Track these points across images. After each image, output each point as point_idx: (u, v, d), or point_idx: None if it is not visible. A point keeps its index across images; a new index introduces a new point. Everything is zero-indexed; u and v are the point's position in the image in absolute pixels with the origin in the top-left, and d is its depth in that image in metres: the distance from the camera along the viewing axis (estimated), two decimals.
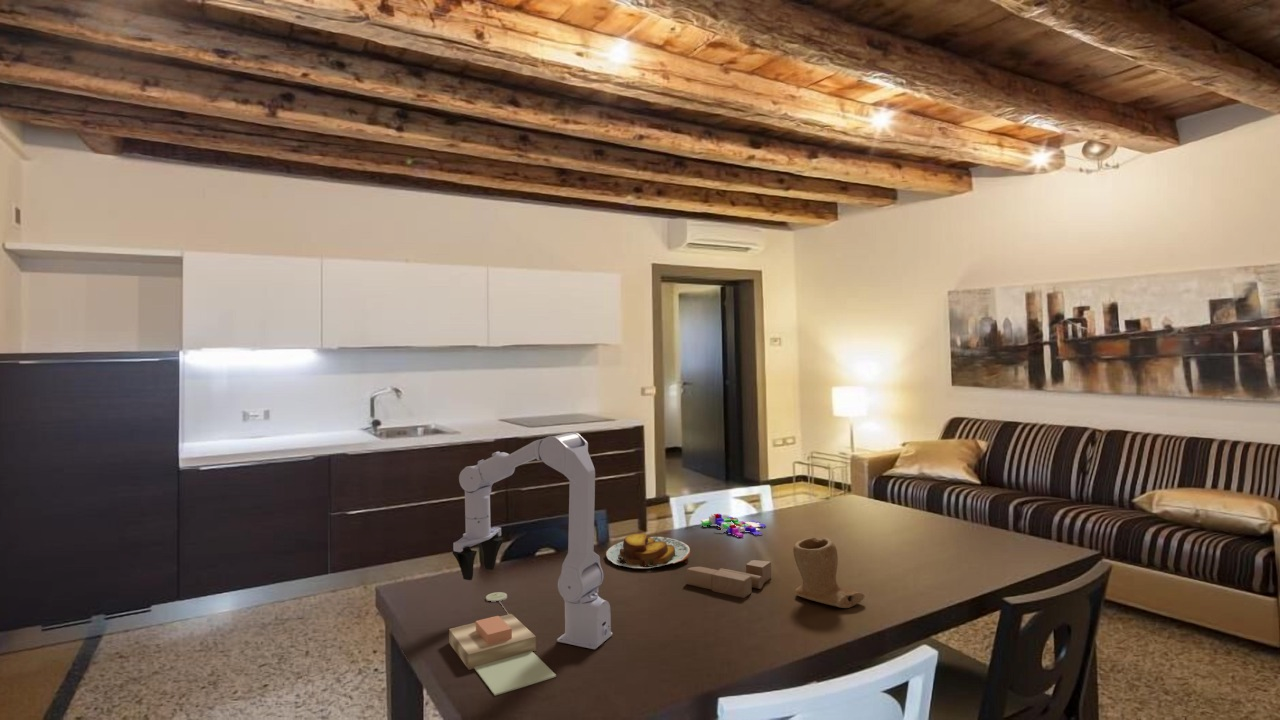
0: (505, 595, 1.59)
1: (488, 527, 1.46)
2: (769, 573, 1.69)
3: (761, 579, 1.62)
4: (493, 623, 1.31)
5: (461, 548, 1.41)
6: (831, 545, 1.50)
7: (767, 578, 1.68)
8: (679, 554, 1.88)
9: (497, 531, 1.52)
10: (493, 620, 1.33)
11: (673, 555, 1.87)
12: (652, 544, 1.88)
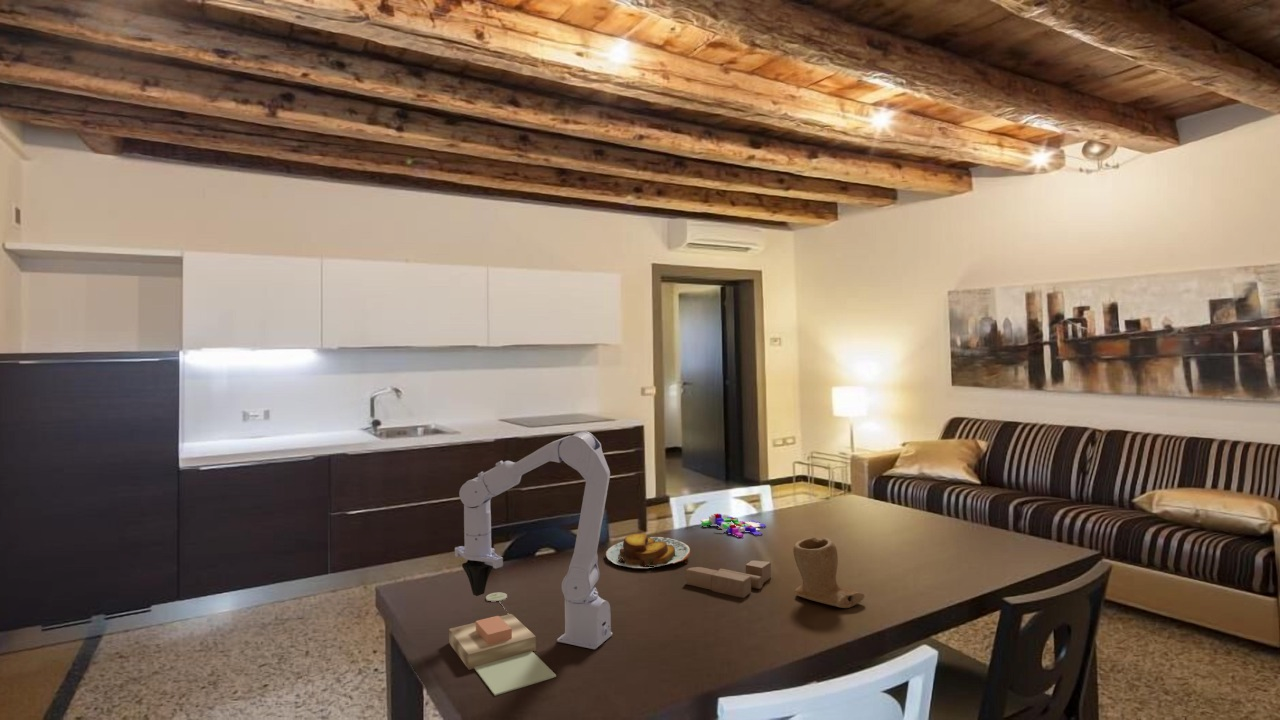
0: (505, 595, 1.59)
1: (468, 547, 1.36)
2: (768, 574, 1.69)
3: (760, 579, 1.62)
4: (493, 623, 1.31)
5: (455, 553, 1.42)
6: (831, 545, 1.50)
7: (767, 578, 1.68)
8: (679, 554, 1.88)
9: (489, 560, 1.34)
10: (493, 620, 1.33)
11: (673, 555, 1.87)
12: (652, 544, 1.88)
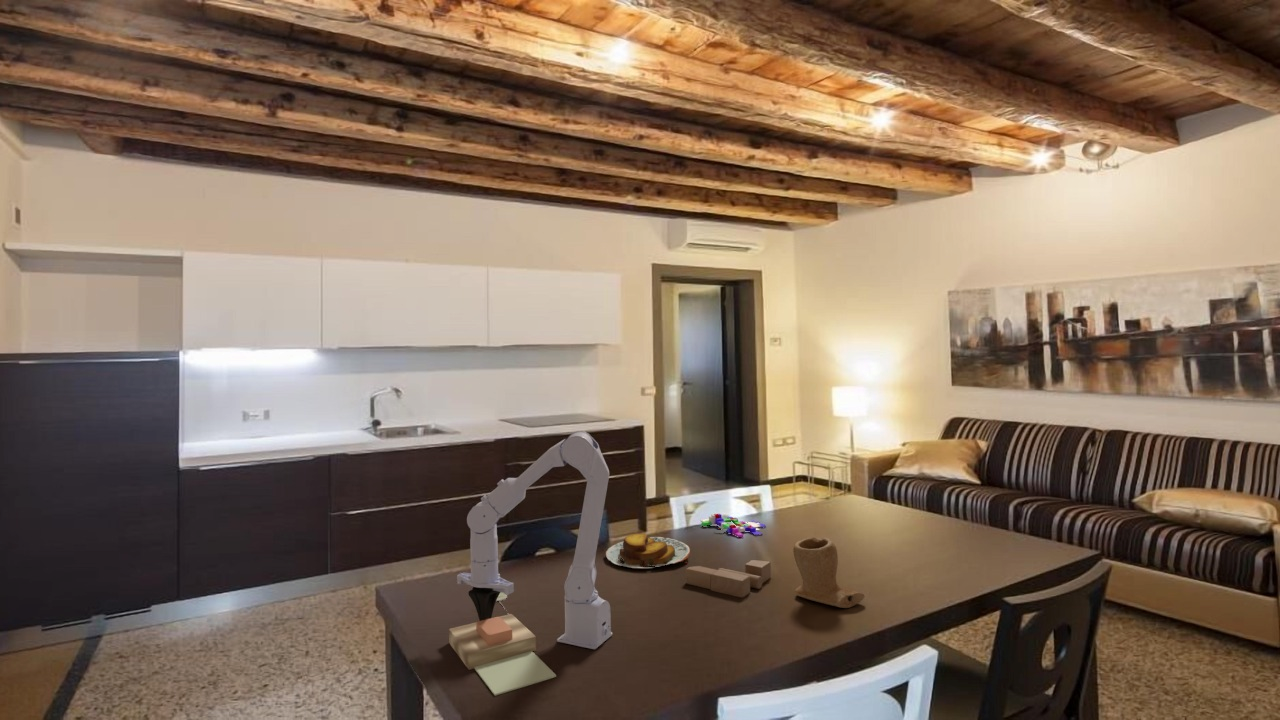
0: (505, 595, 1.59)
1: (476, 574, 1.32)
2: (768, 573, 1.69)
3: (760, 579, 1.62)
4: (493, 624, 1.31)
5: (458, 580, 1.37)
6: (831, 545, 1.50)
7: (766, 578, 1.68)
8: (679, 554, 1.88)
9: (500, 587, 1.31)
10: (493, 621, 1.32)
11: (673, 555, 1.87)
12: (652, 544, 1.88)
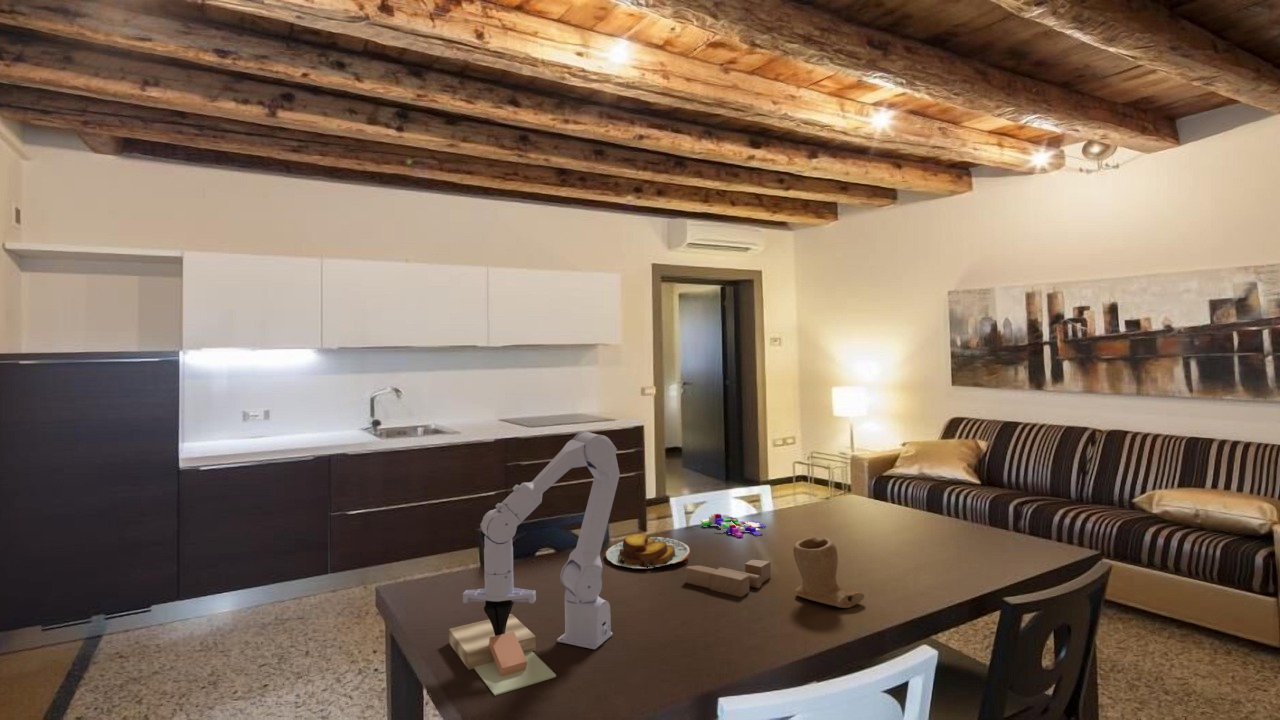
0: None
1: (497, 587, 1.24)
2: (768, 573, 1.69)
3: (759, 578, 1.63)
4: (508, 647, 1.23)
5: (465, 599, 1.27)
6: (831, 545, 1.50)
7: (766, 578, 1.68)
8: (679, 554, 1.88)
9: (524, 596, 1.26)
10: (508, 640, 1.24)
11: (673, 555, 1.87)
12: (652, 544, 1.88)
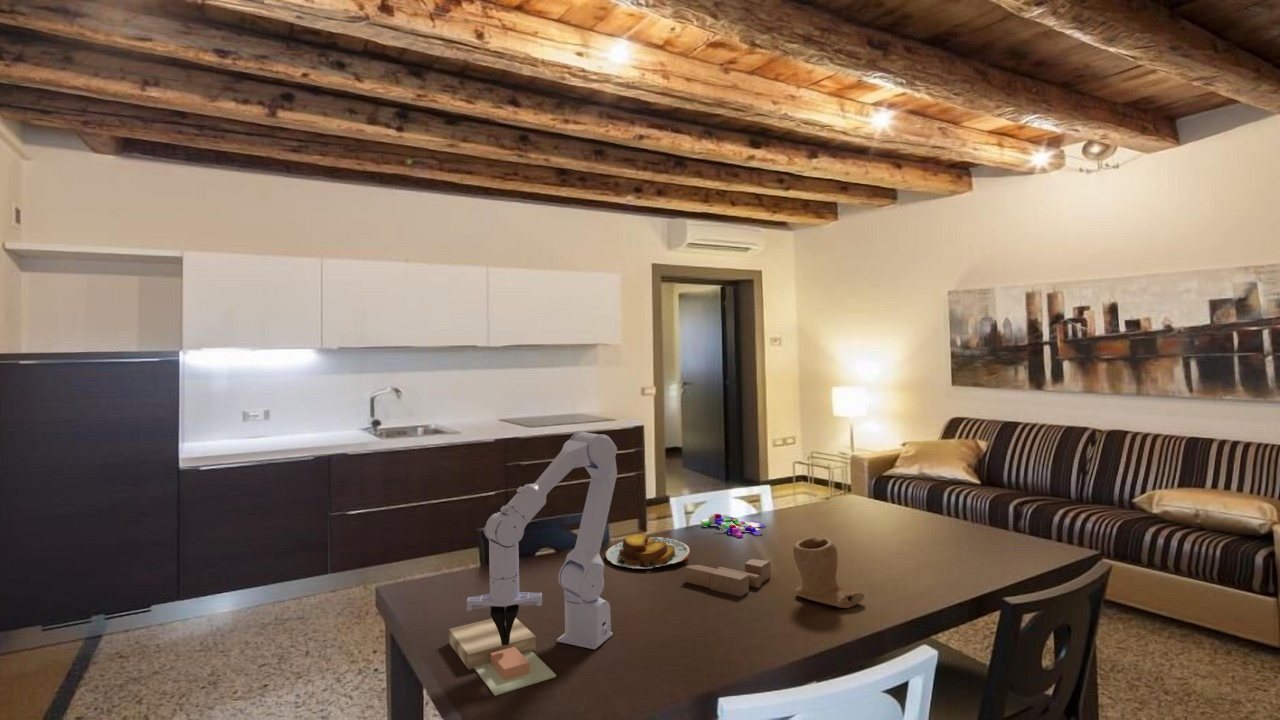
0: None
1: (505, 591, 1.22)
2: (768, 572, 1.69)
3: (759, 578, 1.63)
4: (509, 656, 1.22)
5: (469, 606, 1.23)
6: (831, 545, 1.50)
7: (766, 577, 1.68)
8: (679, 554, 1.88)
9: (532, 599, 1.24)
10: (509, 652, 1.24)
11: (673, 555, 1.86)
12: (652, 544, 1.88)
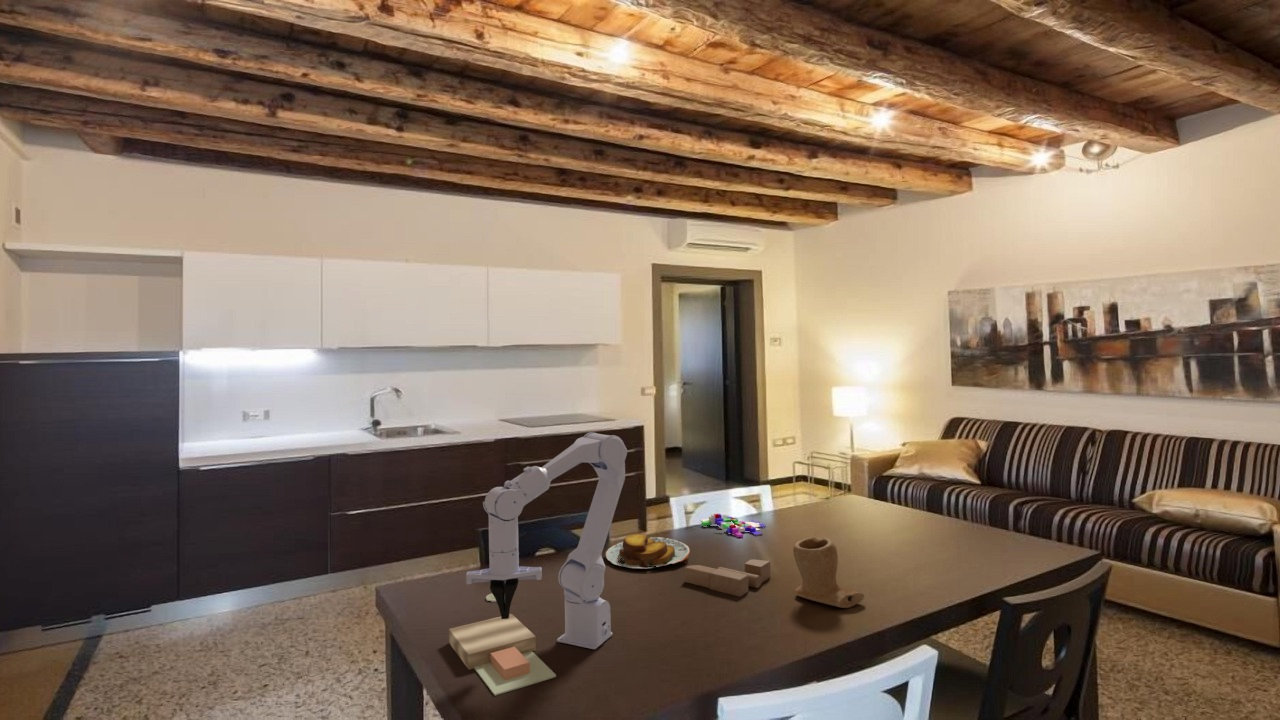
0: None
1: (504, 565, 1.22)
2: (768, 573, 1.69)
3: (758, 578, 1.63)
4: (509, 656, 1.22)
5: (468, 580, 1.23)
6: (831, 545, 1.50)
7: (766, 577, 1.68)
8: (679, 554, 1.87)
9: (531, 573, 1.24)
10: (509, 652, 1.24)
11: (673, 555, 1.86)
12: (652, 544, 1.88)
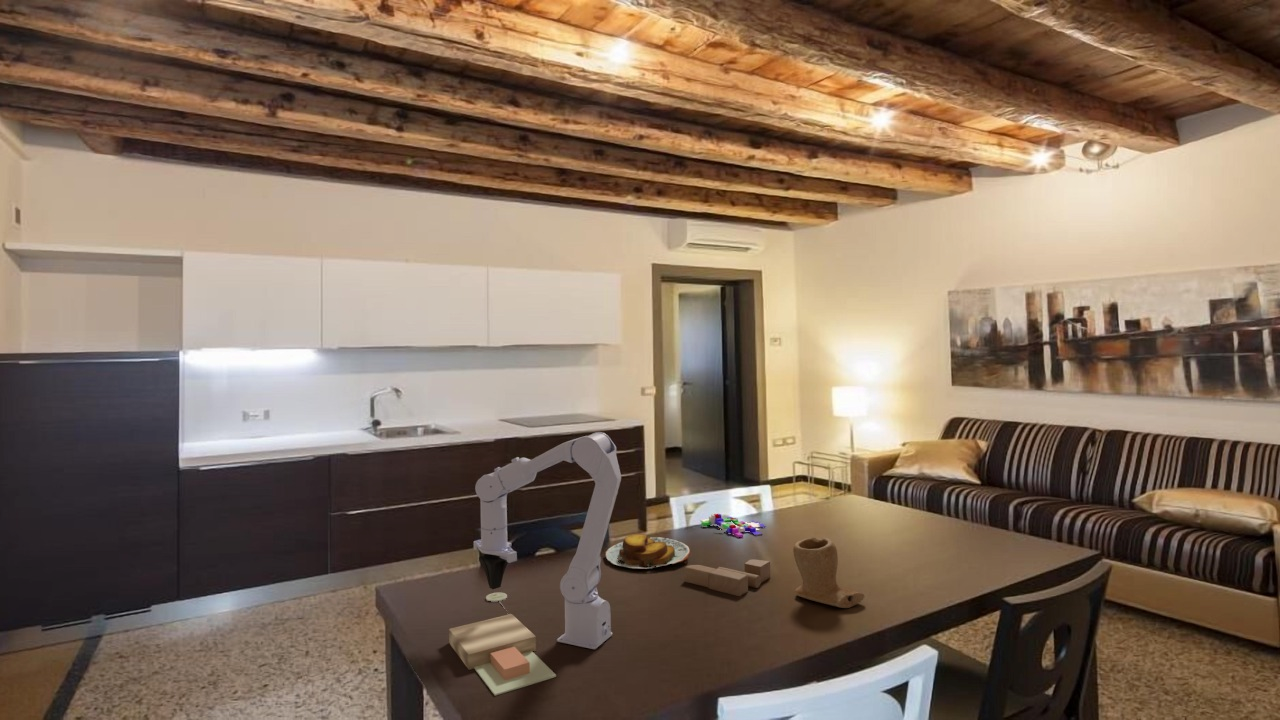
0: (505, 595, 1.59)
1: (484, 540, 1.38)
2: (768, 573, 1.69)
3: (758, 578, 1.63)
4: (509, 656, 1.22)
5: (474, 546, 1.44)
6: (831, 545, 1.50)
7: (766, 577, 1.68)
8: (679, 555, 1.87)
9: (503, 554, 1.35)
10: (509, 652, 1.24)
11: (673, 556, 1.86)
12: (652, 544, 1.88)
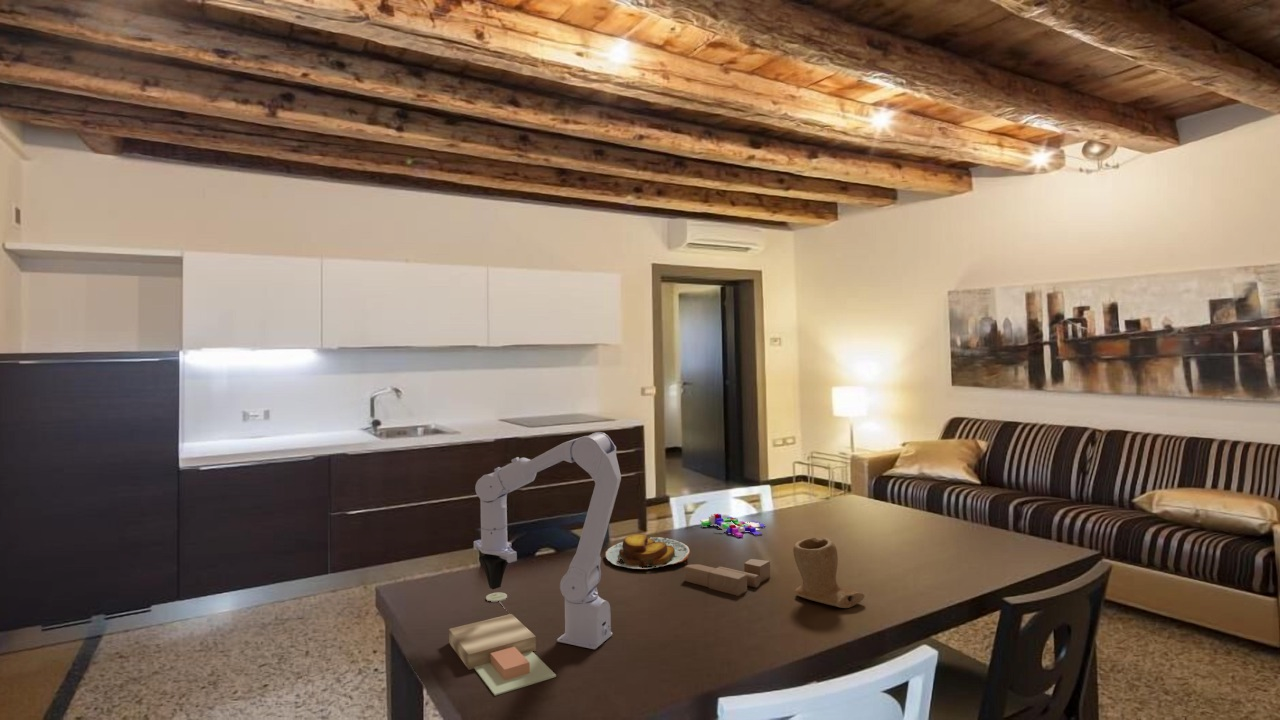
0: (505, 595, 1.59)
1: (484, 540, 1.38)
2: (767, 572, 1.70)
3: (757, 578, 1.63)
4: (509, 656, 1.22)
5: (474, 546, 1.44)
6: (831, 545, 1.50)
7: (765, 577, 1.69)
8: (679, 555, 1.87)
9: (503, 554, 1.35)
10: (509, 652, 1.24)
11: (673, 556, 1.86)
12: (652, 545, 1.88)
